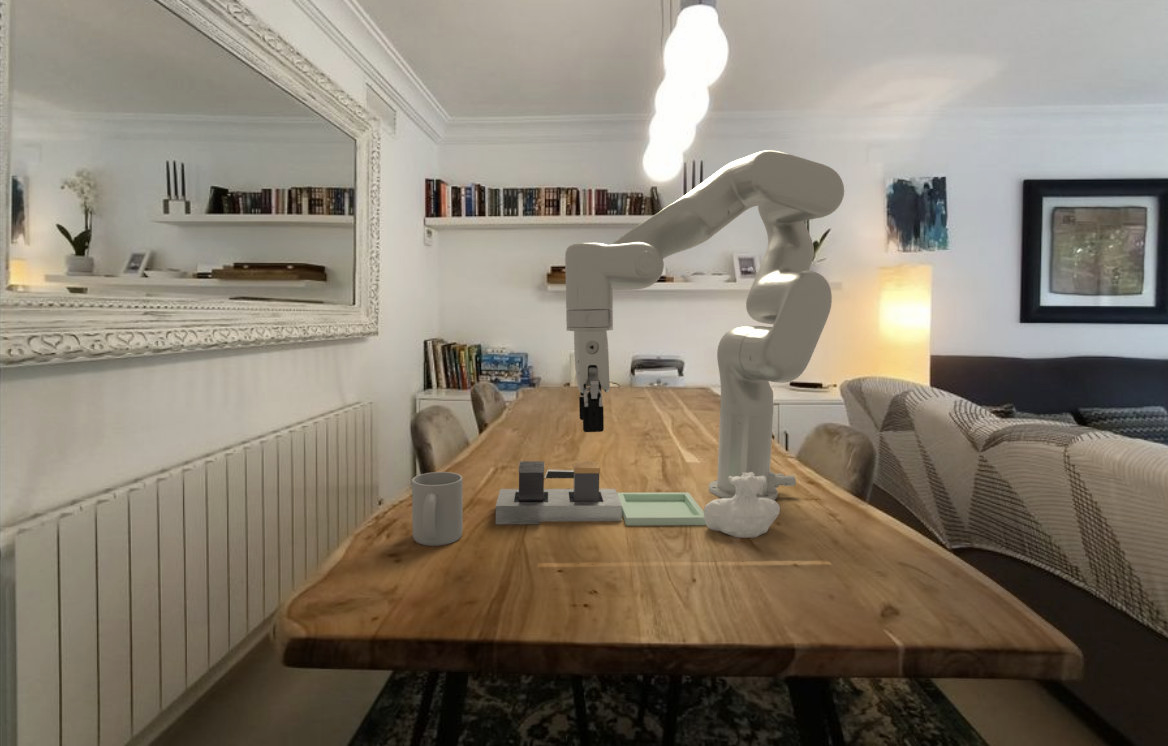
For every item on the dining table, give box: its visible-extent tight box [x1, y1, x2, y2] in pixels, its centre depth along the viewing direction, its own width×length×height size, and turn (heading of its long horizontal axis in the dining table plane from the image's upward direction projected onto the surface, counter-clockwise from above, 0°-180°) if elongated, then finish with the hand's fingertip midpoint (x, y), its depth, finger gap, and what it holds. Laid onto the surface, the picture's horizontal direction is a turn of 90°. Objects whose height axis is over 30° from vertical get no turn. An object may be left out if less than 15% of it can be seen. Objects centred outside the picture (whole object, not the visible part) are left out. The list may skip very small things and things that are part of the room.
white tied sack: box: [703, 472, 781, 539], centre depth 90 cm, size 12×8×11 cm
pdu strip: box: [495, 460, 623, 525], centre depth 98 cm, size 20×9×8 cm, turn 94°
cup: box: [411, 471, 464, 547], centre depth 86 cm, size 7×10×9 cm
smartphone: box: [544, 469, 574, 479], centre depth 117 cm, size 7×16×1 cm, turn 178°
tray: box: [617, 491, 707, 526], centre depth 99 cm, size 13×13×2 cm
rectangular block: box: [572, 461, 601, 502], centre depth 98 cm, size 4×4×8 cm
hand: (591, 425), depth 97 cm, fingers open, 9 cm apart
